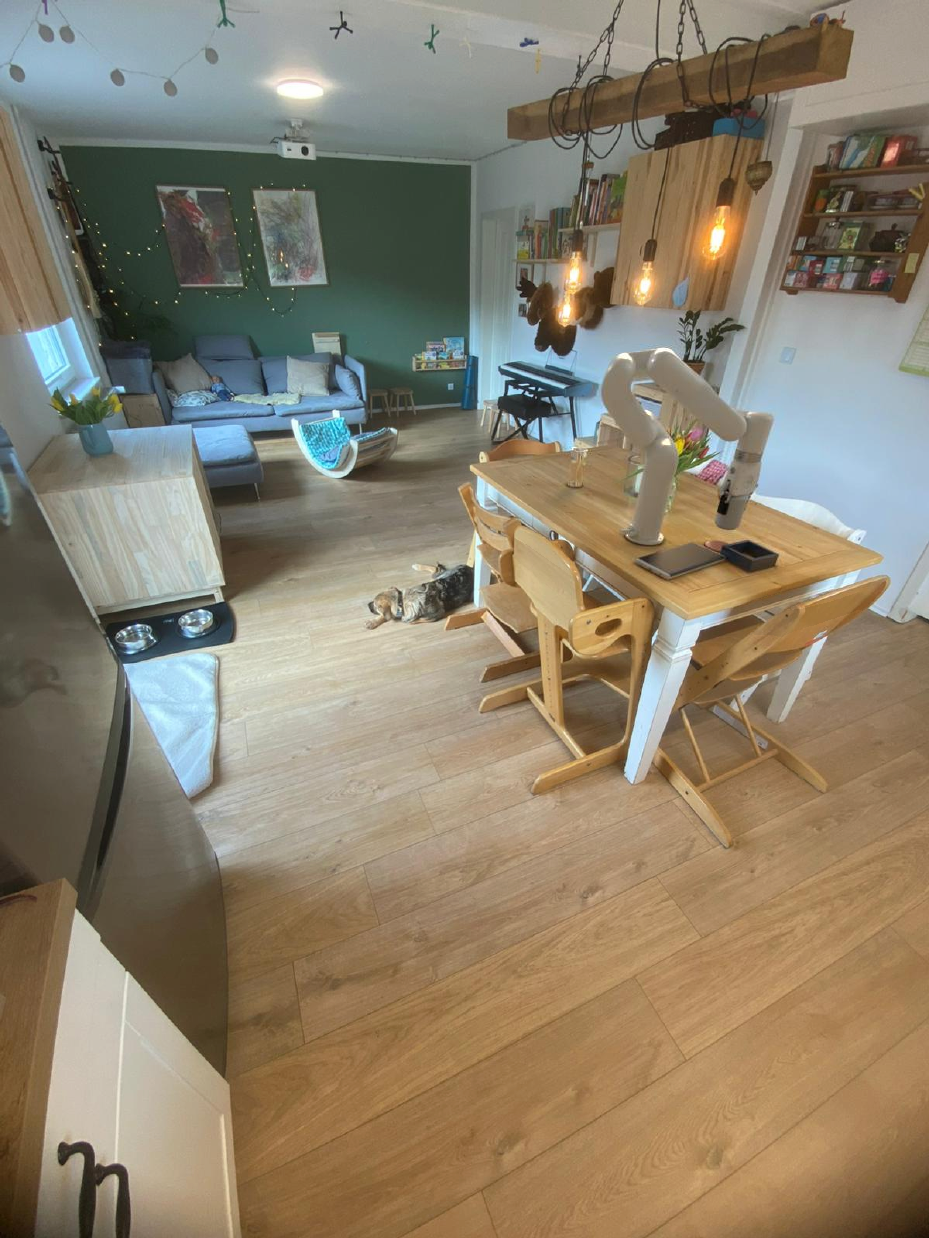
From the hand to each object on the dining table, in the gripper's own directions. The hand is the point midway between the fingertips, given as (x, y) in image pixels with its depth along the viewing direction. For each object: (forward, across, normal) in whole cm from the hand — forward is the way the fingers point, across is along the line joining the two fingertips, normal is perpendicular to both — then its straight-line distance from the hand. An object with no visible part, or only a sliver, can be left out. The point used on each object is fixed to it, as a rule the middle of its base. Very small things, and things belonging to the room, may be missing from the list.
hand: (730, 511), depth 168 cm
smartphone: (+13, -21, -3) cm, 24 cm away
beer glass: (+12, -10, +70) cm, 71 cm away
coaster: (+13, 0, 0) cm, 13 cm away
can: (+5, 0, 0) cm, 5 cm away
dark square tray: (+13, 0, -11) cm, 17 cm away
